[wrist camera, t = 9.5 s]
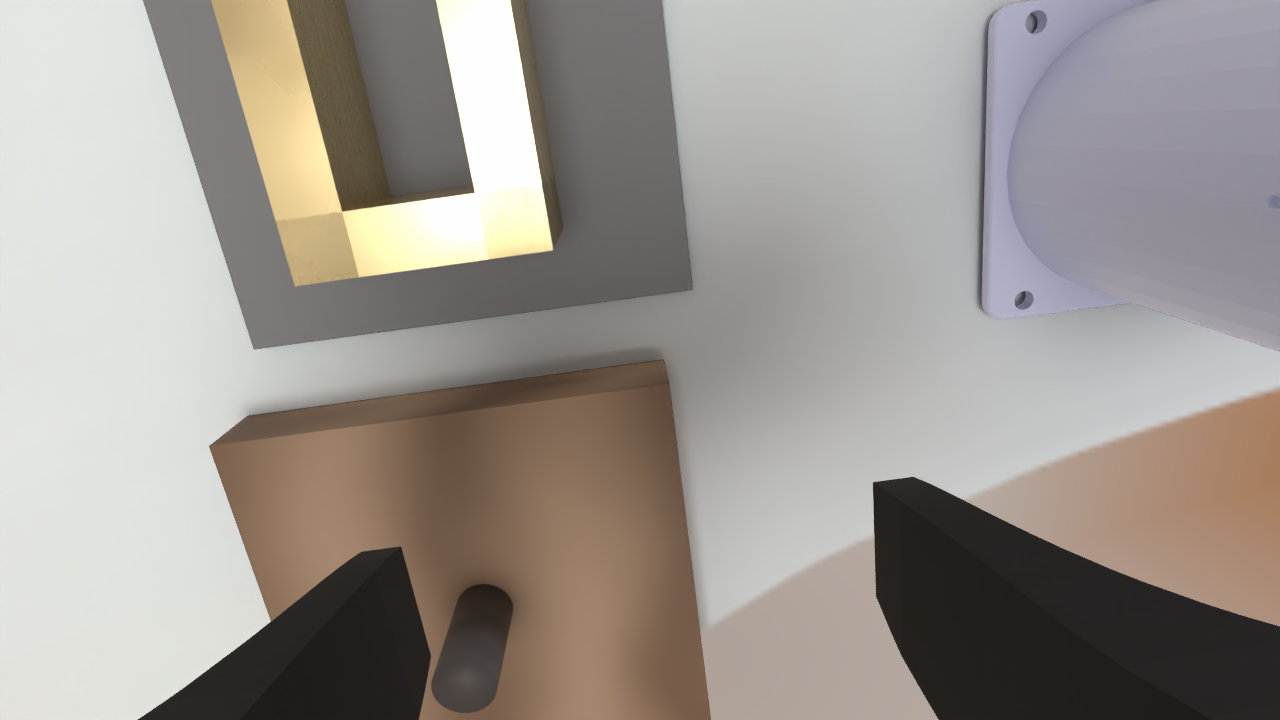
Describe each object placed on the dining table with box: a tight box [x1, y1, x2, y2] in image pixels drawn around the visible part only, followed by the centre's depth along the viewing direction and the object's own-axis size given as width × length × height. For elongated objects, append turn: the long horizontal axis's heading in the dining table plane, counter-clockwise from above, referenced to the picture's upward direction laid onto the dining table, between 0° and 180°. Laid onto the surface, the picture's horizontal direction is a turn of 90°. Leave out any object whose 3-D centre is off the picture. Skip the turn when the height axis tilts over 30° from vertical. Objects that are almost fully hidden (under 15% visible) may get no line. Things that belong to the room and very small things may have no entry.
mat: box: [143, 0, 693, 349], centre depth 17 cm, size 12×12×1 cm
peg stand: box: [209, 360, 711, 720], centre depth 20 cm, size 12×12×5 cm
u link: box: [211, 0, 563, 286], centre depth 16 cm, size 8×6×4 cm
